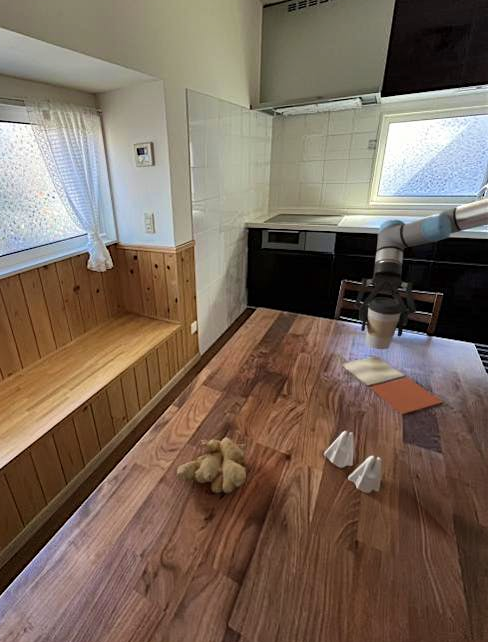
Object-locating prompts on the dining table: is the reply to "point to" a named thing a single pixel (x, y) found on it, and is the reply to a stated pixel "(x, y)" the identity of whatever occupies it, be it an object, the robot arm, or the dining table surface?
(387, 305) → the coffee cup
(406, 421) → the dining table surface
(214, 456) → the ginger root
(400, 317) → the robot arm
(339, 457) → the shaker set
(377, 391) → the terracotta mat
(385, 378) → the cream mat
